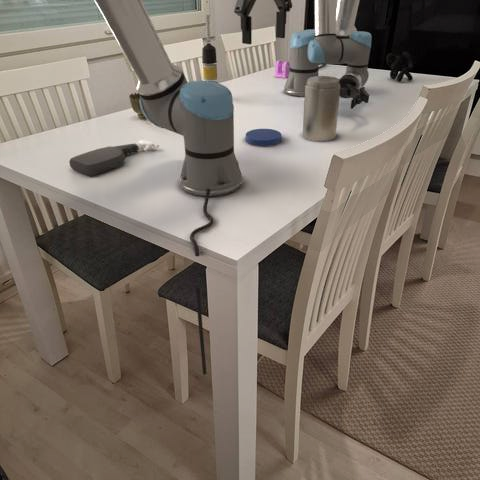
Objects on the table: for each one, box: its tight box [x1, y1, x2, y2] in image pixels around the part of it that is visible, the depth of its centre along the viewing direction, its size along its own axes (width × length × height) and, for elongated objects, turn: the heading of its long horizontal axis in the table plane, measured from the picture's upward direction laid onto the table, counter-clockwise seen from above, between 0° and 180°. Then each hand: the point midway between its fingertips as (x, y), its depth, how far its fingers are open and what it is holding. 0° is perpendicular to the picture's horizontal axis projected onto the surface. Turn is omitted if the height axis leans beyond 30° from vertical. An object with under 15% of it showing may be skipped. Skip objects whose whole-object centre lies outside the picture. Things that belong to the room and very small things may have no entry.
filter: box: [201, 14, 219, 83], centre depth 171 cm, size 6×6×30 cm
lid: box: [245, 128, 282, 147], centre depth 136 cm, size 11×11×2 cm
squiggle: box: [385, 51, 414, 83], centre depth 198 cm, size 11×10×15 cm
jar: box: [301, 75, 341, 142], centre depth 135 cm, size 10×10×17 cm
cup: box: [128, 92, 147, 119], centre depth 156 cm, size 8×7×8 cm
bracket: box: [274, 59, 290, 79], centre depth 212 cm, size 13×6×7 cm, turn 143°
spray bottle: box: [68, 139, 160, 177], centre depth 124 cm, size 3×11×24 cm
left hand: (264, 40), depth 122 cm, fingers open, 13 cm apart
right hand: (331, 101), depth 141 cm, fingers open, 13 cm apart
